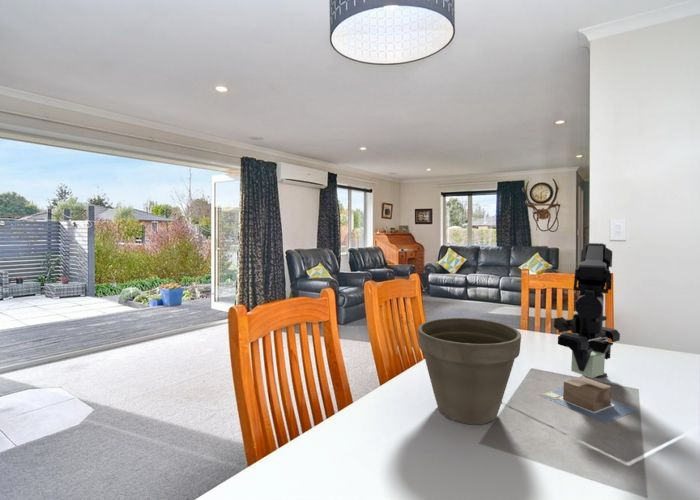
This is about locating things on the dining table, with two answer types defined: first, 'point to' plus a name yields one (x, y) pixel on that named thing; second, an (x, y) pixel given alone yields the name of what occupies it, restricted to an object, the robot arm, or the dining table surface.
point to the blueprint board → (601, 414)
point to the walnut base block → (587, 393)
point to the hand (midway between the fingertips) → (587, 368)
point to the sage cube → (591, 365)
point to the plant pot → (469, 365)
